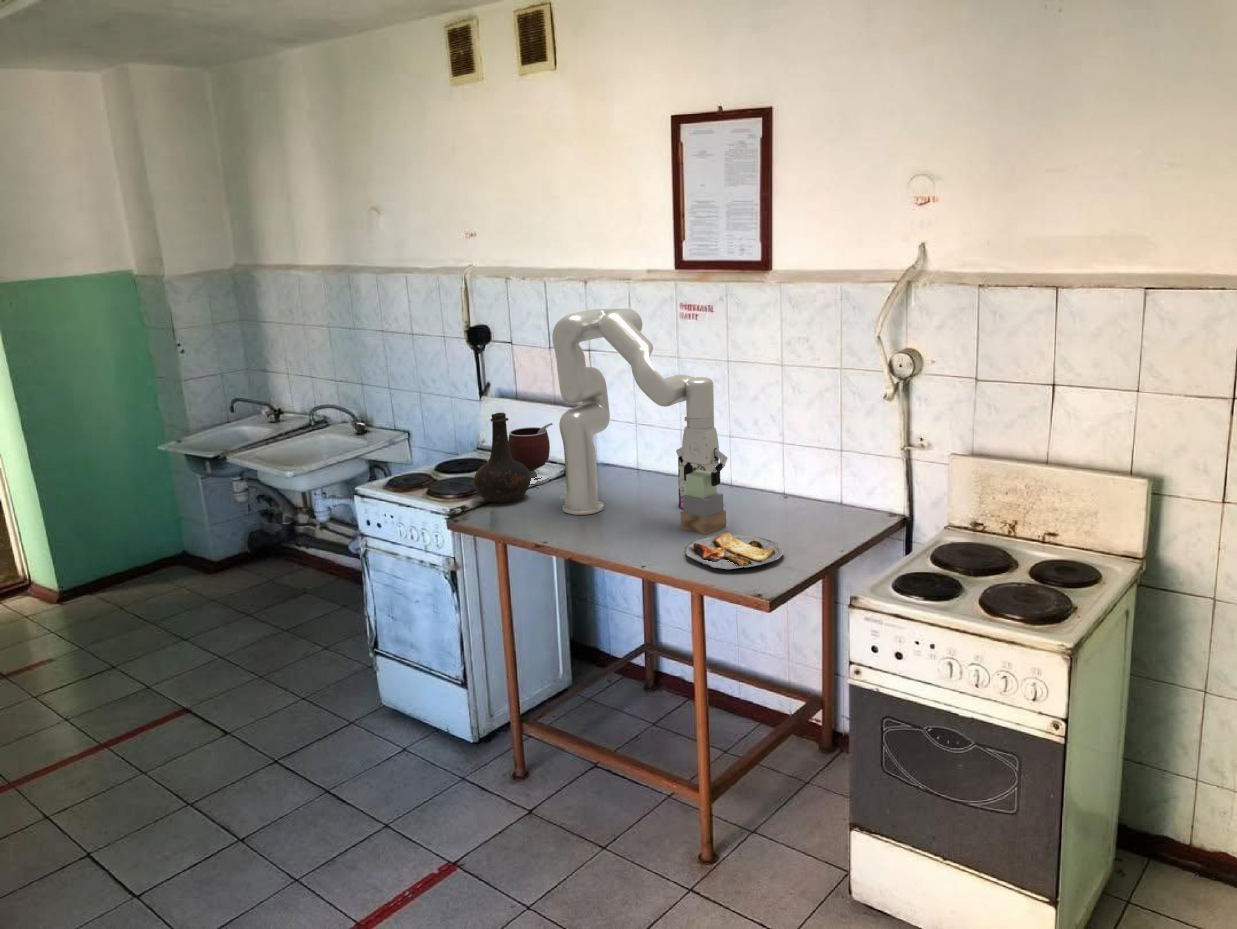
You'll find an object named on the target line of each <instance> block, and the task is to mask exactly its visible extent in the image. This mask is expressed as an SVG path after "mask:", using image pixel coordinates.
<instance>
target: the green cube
mask: <svg viewBox="0 0 1237 929" xmlns="http://www.w3.org/2000/svg"><path fill="white" fill-rule="evenodd" d="M717 486H718V485H716V486H712V485H711V472H708V471H702V470H698V471H695V472H692V473H689V474H687V475H686V491H687V496H692V497H698V498H703V499H704V498H707V497H709V496H712V495H714V494H717V493H718V491H717Z"/></svg>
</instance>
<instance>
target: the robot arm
mask: <svg viewBox="0 0 1237 929" xmlns="http://www.w3.org/2000/svg"><path fill="white" fill-rule="evenodd" d="M642 329H643V320H642V317H641V316H640V314H639V313H638V312H637V311H635V310H634V309H631V308H596V309H590V310H583V311H578V312H574V313H570V314H567V315H565V316H563V317H562V318H560V319H559V320H558V321H557V322H556V323H555V325H554V327H553V329H552V337H551V338H552V344H553V350H554V355H555V359H556V371H557V376H558V378H557V379H558V384H559V385H558V386H559V392H560V396H561V398H562V399H563V401H564V402H566V403H568V404H577V403H580V402H581V405H578V406H575V407H572V408H570V409H567V410H566V411H565V412H563V414H562V415H561V417H560V418H559V423H558V425H559V431H560V435H561V439H562V444H563V452H564V454H563V455H564V466H565V467H564V469H565V483H566V486H565V487H566V490H564V491H563V492H562V494H561V495H560V496H559V498H560V500H564V502H565V503H564V504H562V511H563V512H564V513H565V514H568V515H577V516H579V515H580V516H583V515H586V516H587V515H591V514H596V513H599V512H601V511H603V510H604V509H605V504H604V502H602V501H600V500H599V487H598V468H597V452H596V447H595V444H594V443H593V440H592V437H591V436H594V435H596V434H599V433H601V432H603V431H605V430H606V429H607V428H608V426H609V423H610V419H611V418H610V417H611V416H610V415H611V414H610V405H609V404H610V403H609V395H608V386H607V381H606V378H605V376H604V374H603V373H602V372H601V371H600V370H599V369H598V368H596V367H594V366H587V365H586V356H585V352H584V350H583V348H582V347H581V346H580V343H582V342H587V341H590V340H595V339H602V338H604V339H605V340H606V342H608V343H609V344H610V345H611V346H612V347H613V349H614V350H615V351H616V352H617V353H619V355H620V356H621V357H622V358H623V359H624V360H625V361H626V362H627V363H628V364H629V365H630V368H631V372H632V376H633V377H634V378H633V379H634V381H635V383H636V384H637V386H638V389H640V390H641V391H642V392H643V393H644V394H645V395H646V396H647V397H648V399H649V400H651V401H652V402H653V403H654V404H656V405H657V406H660V407H665V408H666V407H671V406H673V405H676V404H680V403H684V402H686V403H685V405H686V406H685V408H686V411H685V412H686V416H685V417H684V422H686V426H684V429H683V435H682V443H681V444H682V446H681V447H679V448H677V449H676V450H675V452H676V454H677V460H678V459H679V461H680V462H681V463H682V464H681V465H682V467H684V481H686V475H687V474H689V473H692V472H693V466H692V465H690V464H691V463H693V464H699V465H705V466H707V465H709V466H710V468H711V469H712V471H713V472H711V485H712V486H716V485H717V486H718V485H720V484H721V471H722V470H723V468H725V466H726V463H727V461H728V456H726V455H725V454H724V453H722V452H721V451H720V445H719V444H720V443H719V437H718V431H717V429H716V427H715V410H714V408H715V406H714V404H715V402H714V396H715V395H714V381H713V379H711V378H709V377H704V376H700V377H698V376H697V377H694V376H690V375H686V374H675V375H673V376H669V377H665V378H664V377H663V376H662V375H661V374H660V372H658V371H657V370H656V369H655V367H654V365H653V364H652V361H651V354H652V353H653V350H654V346H653V344H652V342H651V341H650V340H649V339H648V338H647V337H646V336H645V335H644V334H643V333H642V332H641V331H642ZM678 457H679V458H678ZM714 464H715V465H714Z"/></svg>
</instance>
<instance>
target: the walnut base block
mask: <svg viewBox="0 0 1237 929" xmlns="http://www.w3.org/2000/svg"><path fill="white" fill-rule="evenodd" d="M726 527H727V510H726V509H723V511H721V512H719V513H716V514H714V515H711V516H709V517H706V518H704V517H700V516H695V515H691V514H686V513H683V511H681V512H680V528H681V530H684V529H685V530H684V531H689V532H693V533H696V534H697V533H698V534H700V535H704V536H705V535H707V536H708V535H710V534H711V533H714V532H717V531H719V530H721V529H724V528H726Z"/></svg>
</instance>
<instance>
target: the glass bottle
mask: <svg viewBox="0 0 1237 929" xmlns="http://www.w3.org/2000/svg"><path fill="white" fill-rule="evenodd" d="M506 415H507V414H506V413H505V412H496V413H492V414H490V416H491V419H489V420H490V423H491V426H492V436H491V437H492V439H491V450H490V457H489V459H488V461H487V462H486V463H484V464H482V465H481V466H480V467H479V468H478V469H477V471H476V473H475V474H474V477H473V485H474V489H475V490H476V493H477V494H478V495H479V496H480V497H481V498H482V499H483V500H484V501H485V500H486V501H488V502H490V503H497V504H498V503H499V504H500V503H501V504H502V503H510V502H515V501H518V500H520V499H521V498H522V497H523V496H524V495H525V494H526V492H527V491H528V489H529V488H530V486H531V485H530V481H531V476H530V473H529V470H528V469H527V468H526V466H524V465H523V464H522V463H520V462H517V461H515V460H514V459H513V458H512V456H511V453H510V448H509V442H508V440H509V434H508V429H507V421H509V417H506Z"/></svg>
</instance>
